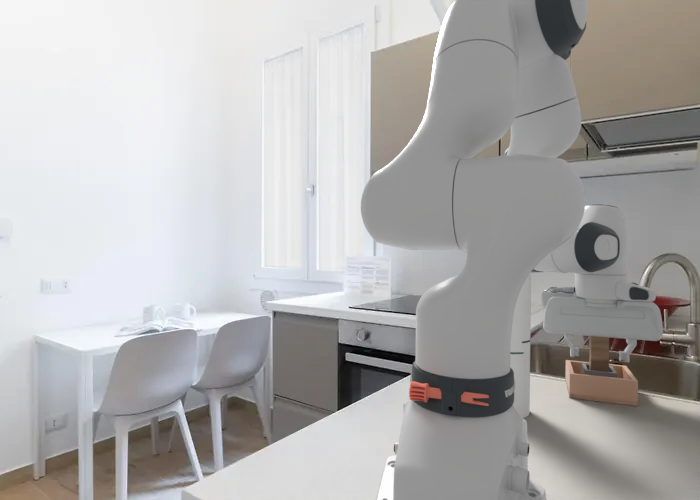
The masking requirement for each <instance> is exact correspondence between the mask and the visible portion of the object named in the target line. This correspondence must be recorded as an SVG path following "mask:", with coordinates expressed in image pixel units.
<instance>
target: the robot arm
mask: <svg viewBox="0 0 700 500" xmlns="http://www.w3.org/2000/svg"><path fill="white" fill-rule="evenodd" d="M587 18H588V1H587V0H455V1H454V2H453V3H452V4H451V5H450V7H449V8H448V10H447V12H446V14H445V16H444V19H443V21H442V25H441V27H440V31H439V33H438V38H437V43H436V47H435V50H434V55H433V63H432V70H431V79H430V83H429V84H430V86H429V91H428V95H427V96H428V97H427V102H426V106H425V111H424V115H423V118H422V120H421V123H420V124H419V126H418V128H417V130H416V132H415V133H414V135H413V136H412V138H411V139H410V140H409V142H408V143H407V144H406V145H405V146H404V148H403V149H402V150H401V152H400V153H399V154H397V155H396V156H395V158H393V159H392V160H391V161H390V162H389V163H387V164H386V165H385V166H384V167H382V168H380V169H379V170H377V171H376V172H374V173H373V174H372V175H371V177H370V178H369V180H368V181H367V182H366V185H365V187H364V189H363V191H362V196H361V199H360V214H361V219H362V222H363V224H364V227H365V229H366V231H367V233H368V234H369V236H370V237H371V238H372V239H373V240H374V241H375V242H376V243H378V244H381V245H386V246H389V247H395V248H399V249H403V250H409V251H461V252H465V253H466V261H465V265H464V267H463V269H462V271H461V272H459V274H457V275H454V276H452V277H450V278H447V279H445V280H443V281H441V282H439V283H437V284H435V285H433V286H431V287H430V288H429V289H427V290H426V291H424V293H423V294H422V295H421V297H420V298H419V300H418V301H417V305H416V307H415V360H414V361H413V362H412V366H411V372H410V377H409V383H410V384H409V388H408V390H409V391H408V394H409V395H408V397H409V399H407V400H406V401H404V402H403V404H402V405H403V408H402V409H403V414H402V415H403V416H402V422H401V425H400V426H401V427H400V433H399V438H398V441H396V442H395V443H394V444H393V452H394V455H389V456H388V457H387V458H386V459H385V463H384V467H383V471H382V476H381V479H380V483H379V487H378V490H377V495H376V500H547V494H546V489H545V488H544V486H542V485H541V484H539V483H537V482H536V481H534V480H533V479H532V480H531V478H530V477H531V476H530V471H529V467H528V466H529V465H528V463H529V458H528V457H529V455H530V443H529V442H528V422H527V420H526V419H524V418H523V417H522V416H521V415H520V414H519V413H518V412H517V411H516V410H515V408H514V406H513V403H514V391H515V380H514V371H513V370H512V369H511V368H510V350H511V333H512V323H513V313H514V308H515V304H516V300H517V297H518V294H519V292H520V290H521V288H522V286H523V284H524V282H525V280H526V278H527V277H528V276H529V274H530V273H531V274H532V273H561V274H567V273H571V274H574V287H571V286H569V287H568V286H563V287H557V286H550V287H549V288H546V289H544V291H542V293H541V304H542V307H544V311H543V313H544V314H543V322H542V327H543V330H544V331H545V332H546V333H548V334H560V335H561V334H562V335H564V337H563V338H564V340H565V342H566V344H567V345H568V347H569V349H570V350H569V355H570V357H571V358H580V354H579V353H580V348H579V347H578V346H574V345H573V343H572V341H573V339H574V335H575V336H586V337H590V336H598V337H609V338H610V339H611V338H613V339H625V342H626V344H627V346H626V347H625V348H624V350H619V351H618V355H619V356H618V361H619V362H622V363H630V358H631V357H630V356H631V355H630V354H632V352H633V351H634V349H635V348H636V347H637V345H638V342H637V341H640V340H641V341H651V342H653V341H654V342H657V341H658V342H659V340H660V339H661V338H663V336H664V332H663V331H664V329H663V319H662V313H661V309H660V308H659V306H658V305H657V304H656V303H655V302H654V301H656V298H657V297H656V295H657V294H656V291H655V290H654V289H652V288H650V287H646V286H643V285H639V284H638V283H636V282H629V281H628V279H627V277H628V275H627V274H628V273H627V268H626V266H625V260H626V255H627V253H628V238H627V237H628V232H627V223H626V219H625V214H624V212H623V210H622V209H621V208H619V207H618V206H614V205H610V204H598V203H597V204H588V205H586V192H585V187H584V184H583V181H582V179H581V177H580V176H579V174H578V172H577V171H576V170H575V168H574V167H573V166H572V165H571V164H570V163H569V162H568V161H567V160H565V159H564V158H558V157H560V156H561V155H563V154H564V153H565V152H567V150H569V149H570V148H571V146H573V144H574V143H575V142H576V140H577V139H578V136H579V134H580V131H581V128H582V112H581V107H580V103H579V99H578V92H577V89H576V85H575V82H574V78H573V75H572V72H571V70H570V67H569V64H568V62H567V60H568V59H569V58H570V57H571V53H572V49H574V48H575V47H577V45H578V44H579V43H580V41H581V39H582V37H583V35H584V33H585V31H586V29H587V20H588V19H587ZM509 130H510V139H509V146H508V147H507V149H505V151H504V154H503V155H496V156H482V157H475V156H476V155H477V154H480V153H481V152H482V151H483V150H485V149H487V148H489V147H491V146H493V144H495V143H497V142H499V141H500V140H501V139H502V138H503V137H504V136H505V135H506V134H507V133H508V131H509Z"/></svg>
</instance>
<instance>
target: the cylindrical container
mask: <svg viewBox="0 0 700 500" xmlns="http://www.w3.org/2000/svg"><path fill="white" fill-rule="evenodd" d="M531 299H532V273H530V274H529V276H528V277H527V278H526V280H525V282H524V284H523V286H522V288H521V290H520V292H519V294H518V297H517V300H516V304H515V308H514V313H513V323H512V333H511V350H510V368H511V369H512V370H513V371H514V380H515V391H514V403H513V406H514V408H515V410H516V411H517V412H518V413H519V414H520V415H521V416H522V417H523V419H524V418H527V417H528V416H529V415H530V411H531V410H530V408H531V407H530V403H531V400H530V399H531V395H530V394H531V393H530V392H531V391H530V390H531V324H532V323H531V322H532V321H531V313H532V310H531V309H532V301H531Z"/></svg>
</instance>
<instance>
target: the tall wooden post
mask: <svg viewBox="0 0 700 500" xmlns="http://www.w3.org/2000/svg"><path fill="white" fill-rule="evenodd" d="M588 337H589V341H588V343H589V344H588V345H589V351H588V354H589V355H588V358H589V360H588V362H589V370H595V371H605V372H609V364H610V337H598V336H588Z"/></svg>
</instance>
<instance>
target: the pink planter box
mask: <svg viewBox="0 0 700 500" xmlns="http://www.w3.org/2000/svg"><path fill="white" fill-rule="evenodd" d="M564 380H565V385H566V389H567V394H568V397H569V398H571V399H576V400H577V399H579V400H586V401H593V402H594V401H595V402H601V403H609V404H617V405H618V404H619V405H624V406H633V407H638V405H639V381H638V379H637V377H635V376H634V374H633V372H632V371H631V370H630V369H629V368H628V366H627V365H621V364H612V363H609V372H605V371H595V370H589V361H580V360H573V359H572V360H569V359H565V379H564Z"/></svg>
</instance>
